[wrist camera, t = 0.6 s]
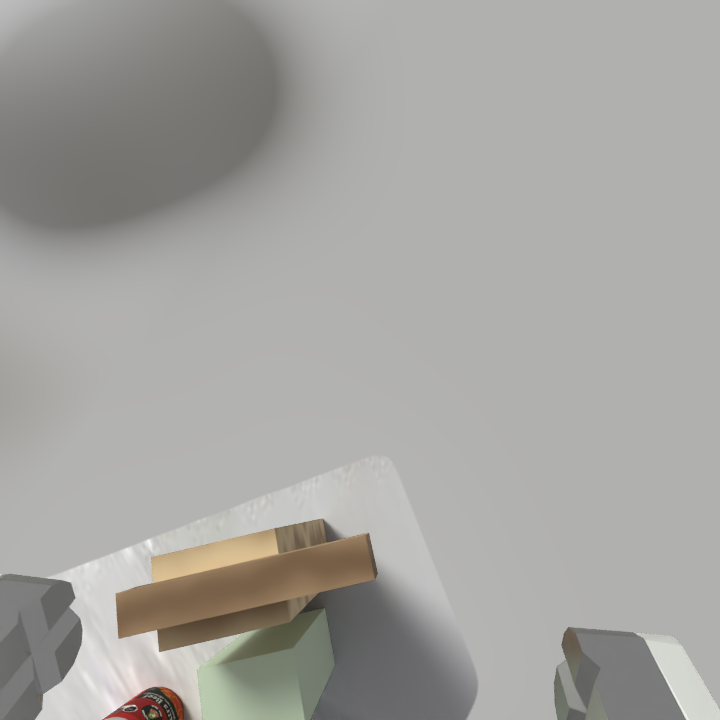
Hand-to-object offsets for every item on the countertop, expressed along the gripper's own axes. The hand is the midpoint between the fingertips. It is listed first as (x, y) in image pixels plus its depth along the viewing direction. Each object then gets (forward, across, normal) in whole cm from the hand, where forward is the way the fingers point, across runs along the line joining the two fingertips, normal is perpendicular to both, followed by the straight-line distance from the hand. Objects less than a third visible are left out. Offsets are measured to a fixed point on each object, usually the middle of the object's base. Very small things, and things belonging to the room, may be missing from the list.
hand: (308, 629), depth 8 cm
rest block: (+42, -11, -52) cm, 67 cm away
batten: (+28, -11, -27) cm, 40 cm away
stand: (+48, -14, -43) cm, 66 cm away
